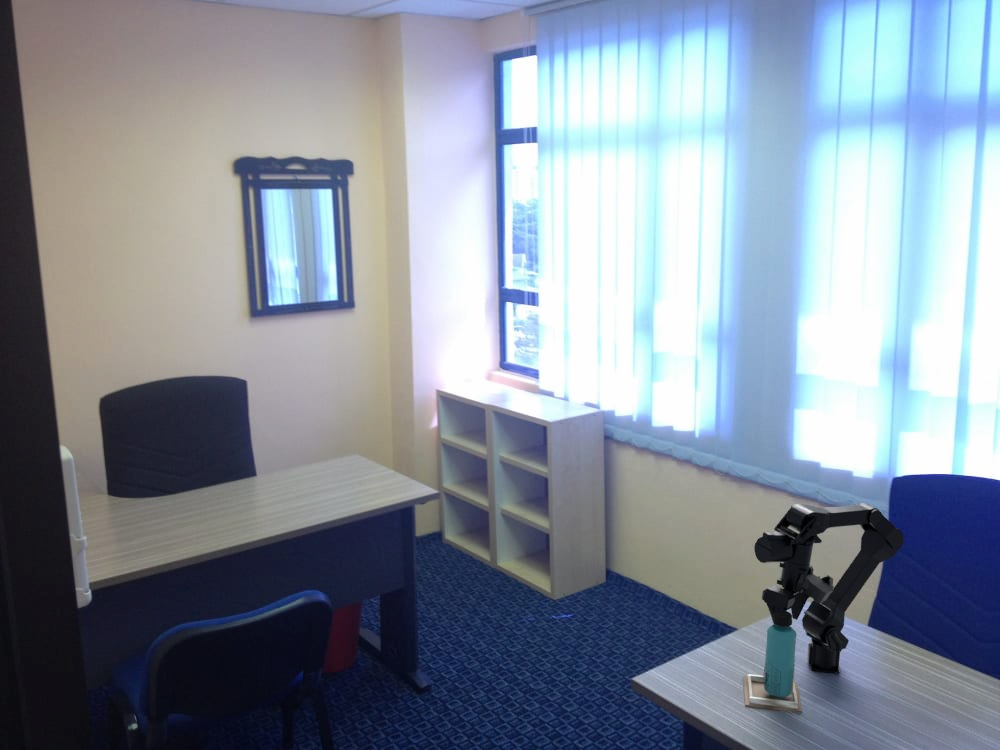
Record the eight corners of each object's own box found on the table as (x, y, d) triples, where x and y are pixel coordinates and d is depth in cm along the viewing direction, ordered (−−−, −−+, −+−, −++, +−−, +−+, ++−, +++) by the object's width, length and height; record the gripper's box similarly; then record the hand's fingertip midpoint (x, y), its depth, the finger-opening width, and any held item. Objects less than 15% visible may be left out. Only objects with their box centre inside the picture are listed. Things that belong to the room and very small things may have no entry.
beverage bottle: (798, 700, 201) (805, 617, 197) (774, 706, 199) (780, 622, 194) (779, 685, 207) (785, 604, 203) (755, 691, 205) (761, 609, 200)
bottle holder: (797, 684, 208) (797, 677, 208) (802, 713, 197) (802, 706, 196) (743, 677, 211) (743, 671, 210) (745, 706, 199) (745, 699, 199)
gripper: (813, 581, 195) (802, 648, 197) (847, 563, 208) (836, 626, 211) (765, 564, 202) (755, 629, 204) (801, 547, 216) (791, 609, 218)
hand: (786, 624), depth 209 cm, fingers open, 9 cm apart
